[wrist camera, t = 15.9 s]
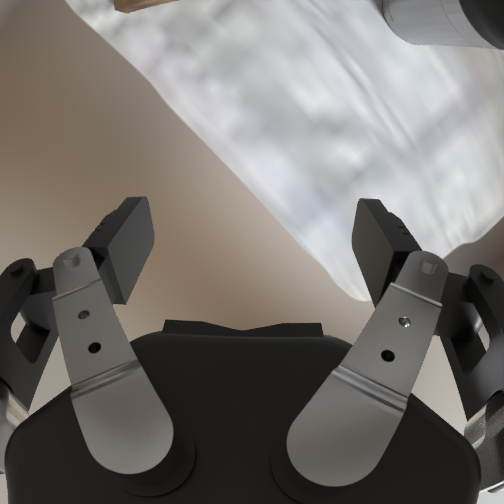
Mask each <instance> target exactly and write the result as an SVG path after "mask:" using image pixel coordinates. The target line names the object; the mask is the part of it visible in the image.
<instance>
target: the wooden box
mask: <svg viewBox="0 0 504 504" xmlns="http://www.w3.org/2000/svg"><path fill="white" fill-rule="evenodd" d="M173 1H177V0H114V6H115V10H117V11H120V12H124V13H130V12H133V11H137V10H140V9H144V8H148V7H151V6H155V5H159V4H164V3H168V2H173Z"/></svg>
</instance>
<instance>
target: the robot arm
mask: <svg viewBox="0 0 504 504" xmlns="http://www.w3.org/2000/svg"><path fill="white" fill-rule="evenodd" d="M383 13H384V16H385V19H386V21H387V23H388V25H389V26H390V28H391V29H392V30H393V31H394V33H395V34H397V35H398V36H399V37H400V38H401V39H403V40H405V41H406V42H409V43H411V44H415V45H444V46H465V47H478V48H489V49H498V50H504V0H383ZM153 245H154V230H153V224H152V219H151V214H150V208H149V202H148V199H147V197H145V196H144V197H143V196H142V197H127V198H126V199H125V200H124V201H123V203H122V204H121V205H120V206H119V207H118V209H117V210H114V211H113V212H111V213H110V214H108V215H107V216H105V218H104V219H103V220H102V221H101V223H100V225H98V226H97V227H96V229H95V231H93V232H92V234H91V235H90V236H89V238H88V239H87V240H86V241H85V243H84V244H83V245H82V247H75V248H71V249H68V250H66V251H64V252H63V253H61V254H60V255H59V256H57V257H56V259H55V260H54V262H53V267H51V268H46V269H41V270H37V269H36V267H35V264H34V262H33V260H32V259H29V258H25V259H20V260H17V261H15V262H13V263H12V264H10V265H9V266H8V267H7V268H6V269H5V270H4V272H3V273H2V274H1V275H0V474H4V473H5V474H6V480H7V489H8V504H476V503H477V499H478V496H479V494H480V493H482V492H485V491H488V492H491V493H497V492H500V491H502V490H504V282H503V280H502V279H501V277H500V276H499V275H498V274H497V273H496V272H495V271H494V270H492V269H491V268H488V267H487V266H484V265H479V264H478V265H473V266H471V267H470V269H469V272H468V274H467V276H463V275H458V274H454V273H450V272H448V266H447V264H446V263H445V262H444V261H443V260H442V259H441V258H440V257H439V256H437V255H435V254H433V253H430V252H427V251H422V249H421V248H420V246H419V245H418V243H417V242H416V240H415V239H414V237H413V236H412V235H411V233H410V232H409V230H408V229H407V228H406V226H405V225H404V223H403V222H402V220H401V219H400V218H398V217H397V216H395V215H394V214H393V213H391V212H388V211H387V209H386V208H385V207H384V205H383V204H382V202H381V201H380V200H379V199H364V198H360V199H359V201H358V204H357V210H356V216H355V221H354V227H353V232H352V249H353V252H354V254H355V257H356V259H357V262H358V264H359V267H360V269H361V272H362V275H363V277H364V280H365V282H366V285H367V288H368V290H369V293H370V296H371V299H372V301H373V304H374V307H375V311H374V313H373V314H372V316H371V318H370V319H369V321H368V322H367V324H366V326H365V327H364V329H363V330H362V332H361V334H360V335H359V337H358V338H357V340H356V342H355V343H354V344H353V345H352V344H350V343H348V342H346V341H344V340H341V339H338V338H336V337H332V336H329V335H324V334H323V330H322V325H321V323H282V324H276V325H271V326H266V327H261V328H255V329H250V330H236V329H231V328H227V327H222V326H219V325H215V324H210V323H206V322H202V321H182V320H165V323H164V327H163V330H162V331H158V332H154V333H150V334H147V335H144V336H141V337H139V338H137V339H135V340H133V341H131V342H129V341H128V339H127V337H126V335H125V333H124V330H123V328H122V326H121V324H120V322H119V319H118V317H117V316H116V313H115V310H114V308H113V304H124V305H126V303H127V301H128V299H129V297H130V294H131V292H132V290H133V288H134V286H135V284H136V281H137V279H138V277H139V275H140V272H141V271H142V268H143V266H144V264H145V262H146V260H147V258H148V256H149V254H150V252H151V250H152V248H153ZM19 312H20V314H21V316H22V317H23V319H24V321H25V322H26V324H25V326H24V328H23V330H22V332H21V334H20V336H19V338H18V339H17V342H16V343H15V342H14V341H13V339H12V337H11V325H12V323H13V321H14V320H15V318H16V316H17V314H18V313H19ZM483 324H484V326H485V328H486V330H487V332H488V334H489V338H490V344H489V348H488V350H487V352H486V350H485V348H484V346H483V343H482V341H481V339H480V337H479V335H478V332H479V330H480V328H481V327H482V325H483ZM433 335H437V336H440V339H441V341H442V344H443V347H444V349H445V352H446V355H447V358H448V361H449V363H450V366H451V369H452V372H453V375H454V378H455V381H456V384H457V388H458V391H459V394H460V397H461V401H462V404H463V408H464V411H465V415H466V419H467V424H466V426H465V430H464V436H463V435H462V434H460V433H459V432H458V431H457V430H455V429H454V428H453V427H452V426H451V425H449V424H448V423H447V422H446V421H445V420H443V419H442V418H441V417H440V416H439V415H438V414H436V413H435V412H434V411H433V410H431V409H430V408H429V407H428V406H427V405H425V404H424V403H423V402H422V401H421V400H420V399H418V398H417V397H416V396H415V395H413V394H412V393H411V390H412V388H413V386H414V383H415V381H416V379H417V376H418V374H419V371H420V369H421V366H422V364H423V361H424V358H425V356H426V353H427V350H428V347H429V345H430V342H431V339H432V336H433ZM58 336H59V338H60V343H61V347H62V351H63V355H64V360H65V363H66V367H67V371H68V375H69V378H70V382H71V386H69V387H68V388H67V389H65V390H64V391H63V392H61V393H60V394H59V395H57V396H56V397H55V398H53V399H52V400H51V401H49V402H48V403H47V404H45V405H44V406H43V407H41V408H40V409H39V410H37V411H36V412H35V413H33V414H32V415H31V416H29V413H28V411H29V408H30V405H31V403H32V400H33V397H34V394H35V392H36V389H37V386H38V383H39V381H40V379H41V376H42V373H43V371H44V368H45V366H46V364H47V361H48V359H49V357H50V354H51V352H52V350H53V347H54V345H55V343H56V341H57V338H58Z"/></svg>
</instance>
